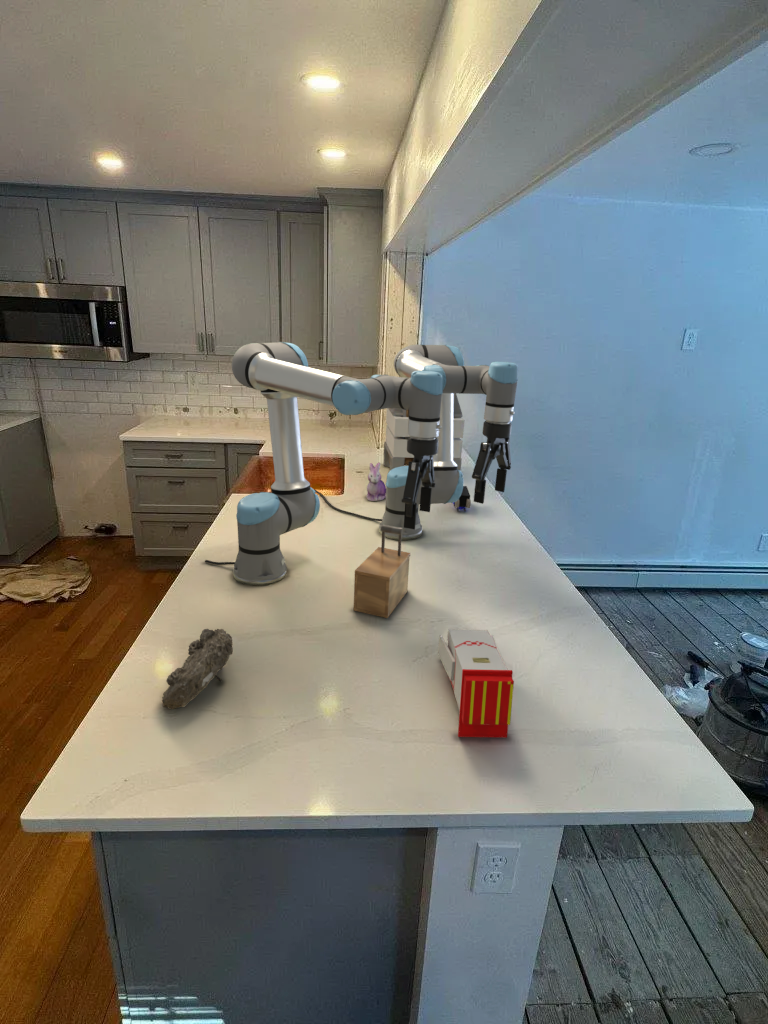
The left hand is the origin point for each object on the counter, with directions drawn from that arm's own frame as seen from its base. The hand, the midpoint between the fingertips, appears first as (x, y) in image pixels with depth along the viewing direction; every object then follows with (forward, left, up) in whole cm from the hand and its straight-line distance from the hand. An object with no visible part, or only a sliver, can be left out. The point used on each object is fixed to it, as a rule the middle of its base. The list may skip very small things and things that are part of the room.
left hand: (417, 519), depth 144 cm
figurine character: (-7, +84, -25) cm, 88 cm away
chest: (-8, -1, -24) cm, 26 cm away
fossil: (-30, -49, -24) cm, 63 cm away
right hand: (+14, +23, +1) cm, 27 cm away
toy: (+23, -30, -25) cm, 45 cm away
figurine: (-41, +79, -25) cm, 93 cm away
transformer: (-37, +125, -25) cm, 133 cm away
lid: (-8, -1, -14) cm, 16 cm away
